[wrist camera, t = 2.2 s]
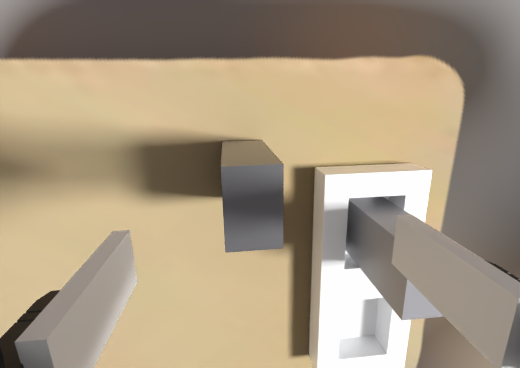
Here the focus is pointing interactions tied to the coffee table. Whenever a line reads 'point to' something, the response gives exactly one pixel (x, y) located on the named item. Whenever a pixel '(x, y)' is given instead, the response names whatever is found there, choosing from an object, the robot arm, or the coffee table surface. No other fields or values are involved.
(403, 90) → the coffee table surface
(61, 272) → the coffee table surface
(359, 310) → the socket strip
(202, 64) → the coffee table surface
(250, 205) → the grey rectangular block
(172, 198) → the coffee table surface
